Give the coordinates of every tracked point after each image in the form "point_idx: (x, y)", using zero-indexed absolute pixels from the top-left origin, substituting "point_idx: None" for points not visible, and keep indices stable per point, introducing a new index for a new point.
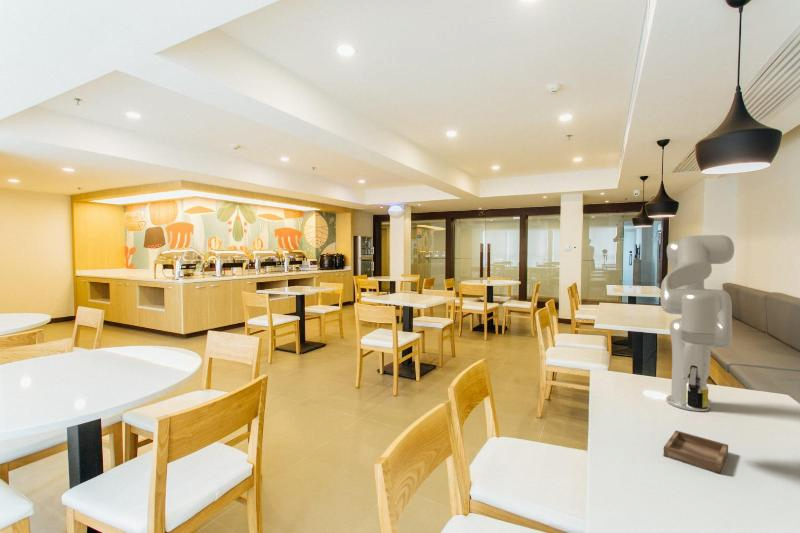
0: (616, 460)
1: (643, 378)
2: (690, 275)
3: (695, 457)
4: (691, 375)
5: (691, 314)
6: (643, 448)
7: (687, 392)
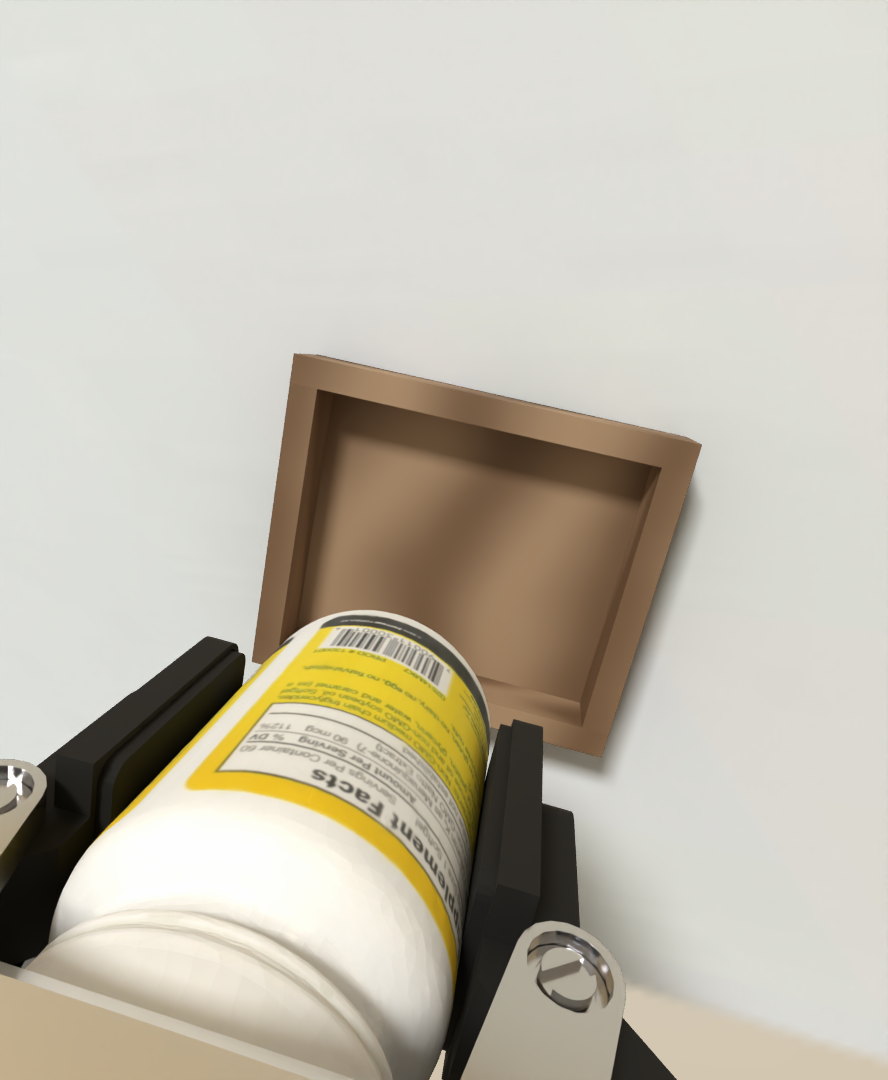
0: (51, 58)
1: None
2: None
3: (269, 542)
4: None
5: None
6: (357, 217)
7: (222, 723)
